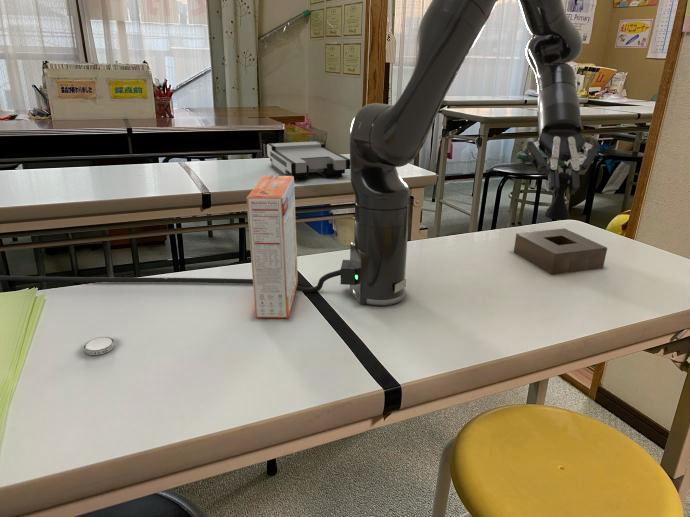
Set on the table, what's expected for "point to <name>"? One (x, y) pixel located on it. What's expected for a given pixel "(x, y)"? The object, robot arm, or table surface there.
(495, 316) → the table surface
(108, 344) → the silver round flat disc
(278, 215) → the cracker box
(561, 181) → the chess piece
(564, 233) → the pad block
